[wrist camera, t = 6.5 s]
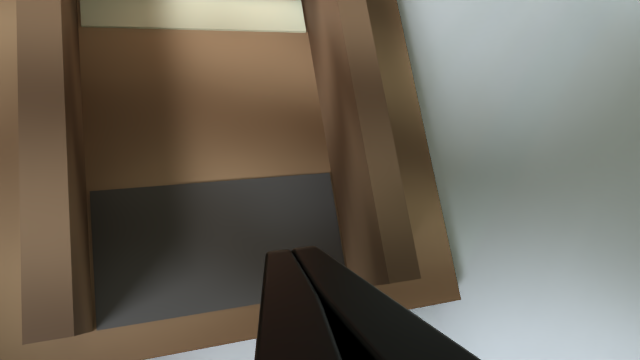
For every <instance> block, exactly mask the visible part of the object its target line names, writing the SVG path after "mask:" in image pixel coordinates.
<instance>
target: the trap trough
mask: <svg viewBox="0 0 640 360" xmlns="http://www.w3.org/2000/svg"><path fill="white" fill-rule="evenodd" d="M307 246H316V247H318V248H319V249H321V250H322V251H324V252H325V253H327V254H328V255H330V256H331V257H332V258H334V259H335V260H337V261H338V262H340V263H341V264H343V265H344V266H346V267H347V268H348V269H350V270H351V271H353V272H354V273H356V274H357V275H359V276H360V277H362V278H363V279H364V280H366V281H367V282H369V283H370V284H372V285H373V286H375V287H376V288H377V289H379V290H380V291H382V292H383V293H385V294H386V295H388V296H389V297H391V298H392V299H393V300H395V301H396V302H398V303H399V304H401V305H402V306H404V307H405V308H407V309H408V310H409V309H414V308H419V307H425V306H430V305H435V304H441V303H446V302H451V301H456V300H461V297H460V292H459V288H458V283H457V279H456V274H455V269H454V265H453V260H452V255H451V251H450V246H449V241H448V237H447V232H446V227H445V223H444V218H443V213H442V209H441V204H440V200H439V195H438V190H437V186H436V181H435V176H434V172H433V167H432V162H431V158H430V153H429V148H428V144H427V139H426V134H425V130H424V125H423V121H422V116H421V111H420V107H419V102H418V97H417V93H416V88H415V83H414V79H413V74H412V69H411V65H410V60H409V55H408V51H407V46H406V42H405V37H404V32H403V28H402V23H401V18H400V14H399V9H398V4H397V0H0V360H145V359H150V358H155V357H160V356H166V355H171V354H176V353H182V352H187V351H192V350H197V349H203V348H208V347H213V346H219V345H224V344H229V343H234V342H240V341H245V340H250V339H256V338H257V331H258V322H259V312H260V302H261V293H262V283H263V273H264V264H265V255H266V253H267V252H269V251H276V250H284V249H288V250H291V251H292V250H293V249H294V248H299V247H307Z"/></svg>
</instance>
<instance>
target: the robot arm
mask: <svg viewBox="0 0 640 360" xmlns="http://www.w3.org/2000/svg"><path fill="white" fill-rule="evenodd" d="M255 360H481V359H479V358H478V357H476V356H475V355H473V354H472V353H470V352H469V351H467V350H466V349H465V348H463V347H462V346H460V345H459V344H457V343H456V342H454V341H453V340H452V339H450V338H449V337H447V336H446V335H444V334H443V333H441V332H440V331H438V330H437V329H436V328H434V327H433V326H431V325H430V324H428V323H427V322H425V321H424V320H422V319H421V318H420V317H418V316H417V315H415V314H414V313H412V312H411V311H409V310H408V309H407V308H405V307H404V306H402V305H401V304H399V303H398V302H396V301H395V300H393V299H392V298H391V297H389V296H388V295H386V294H385V293H383V292H382V291H380V290H379V289H377V288H376V287H375V286H373V285H372V284H370V283H369V282H367V281H366V280H364V279H363V278H362V277H360V276H359V275H357V274H356V273H354V272H353V271H351V270H350V269H348V268H347V267H346V266H344V265H343V264H341V263H340V262H338V261H337V260H335V259H334V258H332V257H331V256H330V255H328V254H327V253H325V252H324V251H322V250H321V249H319V248H318V247H316V246H307V247H299V248H294V249H293V250H292V251H291V250H288V249H284V250H276V251H269V252H267V253H266V255H265V264H264V273H263V283H262V293H261V302H260V312H259V322H258V331H257V341H256V351H255Z"/></svg>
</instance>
